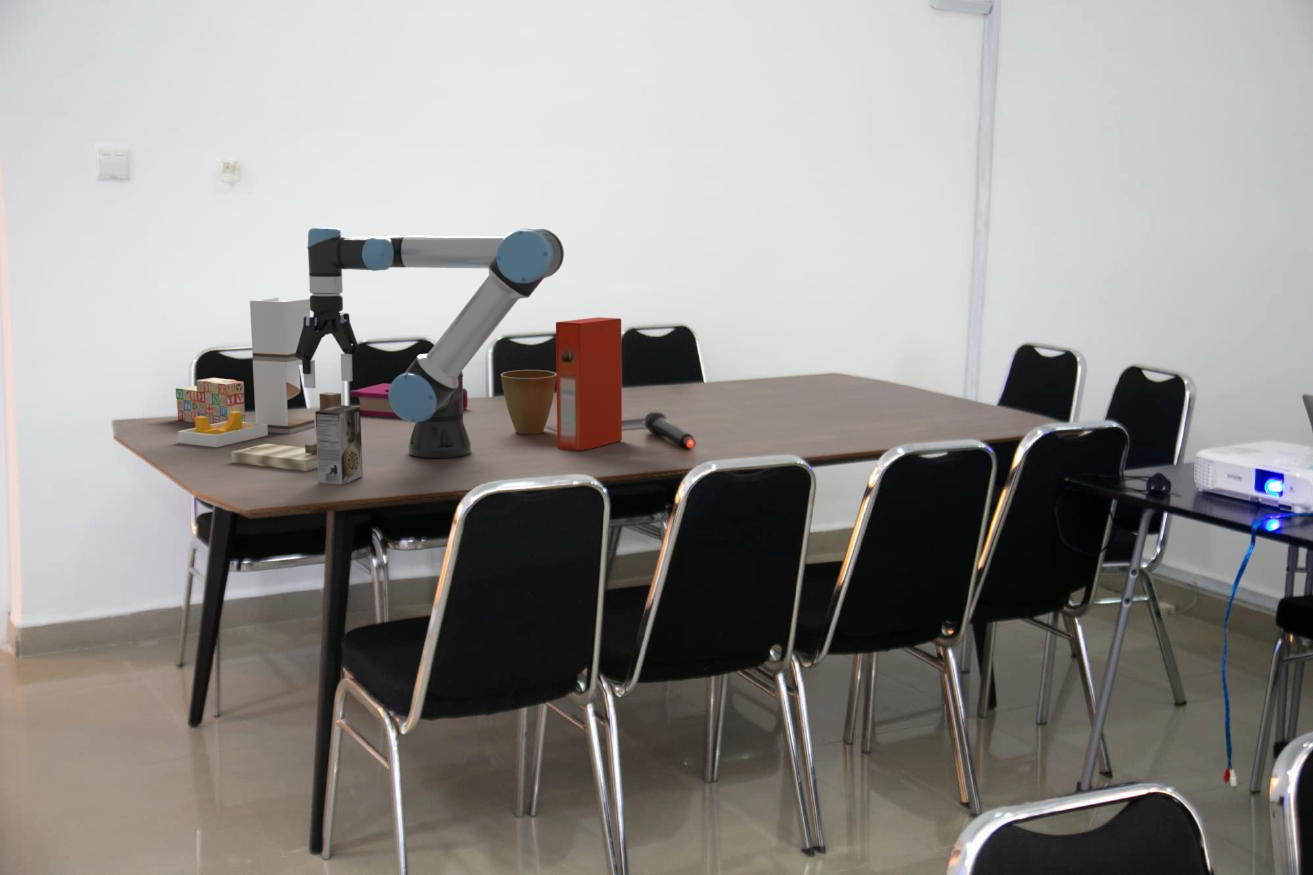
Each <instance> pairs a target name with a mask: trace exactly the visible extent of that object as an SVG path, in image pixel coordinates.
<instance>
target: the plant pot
mask: <svg viewBox="0 0 1313 875" xmlns="http://www.w3.org/2000/svg"><path fill="white" fill-rule="evenodd" d="M500 379H501V384H502V390H503V395H504V399H505V403H506V406H507V410H508V413H509V414H508V415H509V417H510V420H511V423H512V426H513V429H514V431H515V432H516V433H517V434H518V435H519V434H520V435H538V434H542V433H544V431H545V428H546V425H547V423H548V419H549V416H550V413H551V409H552V404H553V400H554V396H555V395H554V394H555V389H556V385H557V378H556V372H554V371H549V370H542V369H541V370H540V369H521V370H511V371H510V370H509V371H506V372H502V373H501V374H500Z"/></svg>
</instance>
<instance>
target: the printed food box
mask: <svg viewBox="0 0 1313 875" xmlns="http://www.w3.org/2000/svg"><path fill="white" fill-rule="evenodd" d="M314 413H315V414H314V415H315V432H316V433H315V435H316V437H315V439H316V442H317V462H318V468H317V480H318V481H317V482H318V484H319V483H320V484H329V485H341V486H342V485H343V486H344V485H345V484H348V483H350V482H351V481H352V482H353V481H354V480H357V479H359V478H362V477H363V476H364V473H363V472H364V471H363V468H364V466H363V446H362V423H361V422H362V421H361V420H362V419H361V415H360V407H359V406H352V405H343V404H341V405H335V406H332V407H328V408H325V409H322V410H320V409H319V410H315V412H314Z"/></svg>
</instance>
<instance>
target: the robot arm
mask: <svg viewBox="0 0 1313 875" xmlns="http://www.w3.org/2000/svg"><path fill="white" fill-rule="evenodd" d="M564 249H565V248H564V246H563V243H562V241H561V240H560V238H559V237H558V236H557V235H556V234H555V233H553V232H552V231H551V230H549V229H545V228H520V229H517V230H514V231H512V232H509V233H508V234H507V235H506V236H487V235H486V236H482V235H481V236H475V235H474V236H473V235H472V236H471V235H470V236H468V235H466V236H464V235H462V236H460V235H459V236H450V235H449V236H448V235H447V236H446V235H444V236H443V235H442V236H441V235H439V236H438V235H437V236H435V235H432V236H431V235H406V236H405V235H403V236H402V235H392V234H391V235H387V234H386V235H382V236H354V237H353V236H343V235H342V232H341V229H340V228H338V227H312V228H310V229H309V230H308V233H307V256H308V257H307V258H308V259H307V260H308V277H309V278H308V279H309V282H308V283H309V284H308V285H309V293H310V296H309V299H310V312H312V313H313V316H310V317H304V320H303V329H302V332H301V336H300V339H299V343H298V346H297V350H296V353H295V357H296V358H298V359H300V360H302V365H301V366H302V367H301V368H302V374H303V388H307V389H316V386H317V385H316V363H315V362H316V360H315V359H313V358H314V356H315V354H316V351H317V349H318V347H319V345H320V343H321V342H322V339H323V338H324V337H325V336H326V335H327V336H328V335H332V336H333V338H334V339H335V342H336V343H337V344H338V346H339V348H340V350H341V351H342V352H343V353H340V369H341V370H340V372H341V373H340V374H341V376H340V378H341V382H343V381H344V382H353V365H354V363H353V362H354V360H353V359H354V358H353V357H354V356H353V355H356V354H357V352H358V351H359V348H360V346H359V344H358V342H357V339H356V336H355V333H354V330H353V327H352V324H351V321H350V314H349V313H346V312H342V311H343V310H344V303H343V302H344V301H343V300H344V298H343V296H342V295H341V294H342V293H343V292H344V291H343V290H344V288H343V270H354V271H355V270H359V271H360V270H361V271H372V272H377V271H379V272H380V271H388V270H389V269H390V268H403V269H404V268H423V269H425V268H426V269H427V268H428V269H430V268H431V269H433V268H434V269H488V276H487V277H486V279H485V280H484V281H483V283H482V284H481V285H480V286H479V288H478V289H477V290H476V291H475V293H474V294H473V295H472V297H471V298H470V299H469V300H468V302H467V303H466V304H465V306H463V308H462V310H460V312H459V313H458V315H457V316H456V317H455V319H454V320H453V321H452V323H451V324H450V325H449V326H448V327H447V329H446V330H445V331H444V332H443V334H442V335H441V337H440V338H439V339H438V340H437V342H435V344H434V345H433V347H432V348H431V349H430V350H429V351H428V353H422V354H421V353H420V354H418V355H417V356H416V358H415V359H414V360H413V362H411V364H410V365H409V367H408V368H407V369H406V370H405V372H404V373H401V374H399V375H398V376H396V377H395V378H394V379H393V381H392V382H391V383H390V384H391V385H390V388H389V393H388V397H389V403H390V406H391V408H392V409H393V411H394V412H395V413H396V415H398V416H399V417H400V418H401V419H402V420H403V421H406V422H409V423H414V426H413V429H412V433H411V437H410V439H409V443H408V455H410V456H413V457H418V458H424V459H425V458H426V459H428V458H429V459H449V458H456V457H461V456H467V455H470V453H471V452H472V449H471V448H472V444H471V440H470V438H469V434H468V432H467V428H466V425H465V423H464V411H463V388H464V385H463V377H464V373H463V370H464V368H466V367H467V365H468V364H469V363H470V361H471V360H472V358H474V357H475V355H476V354H477V352H479V351H480V348H481V347H482V346H483V345H484V343H486V341H487V340H489V338H490V336H491V335H492V333H494V331H495V329H497V327H498V326H499V325H500V324H501V322H502V321H503V320H504V318H505V317H506V316H507V315H508V313H509V312H510V311H511V310H512V308H513V307H514V305H515V304H516V303H517V302H518V301H519V300H520V299H527V298H530V297H531V295H532V294H533V293H534V291H536V289H537V288H538V287H539V285H540V284H541V283H542V281H543V280H544V279H547V278H549V277H551V276H553V275H554V274H556V273H557V272H558V271H559V269H561V267H562V265H563V262H564V257H565V256H564V255H565V250H564ZM311 294H312V295H311ZM301 352H302V353H301ZM399 417H398V418H399Z"/></svg>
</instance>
